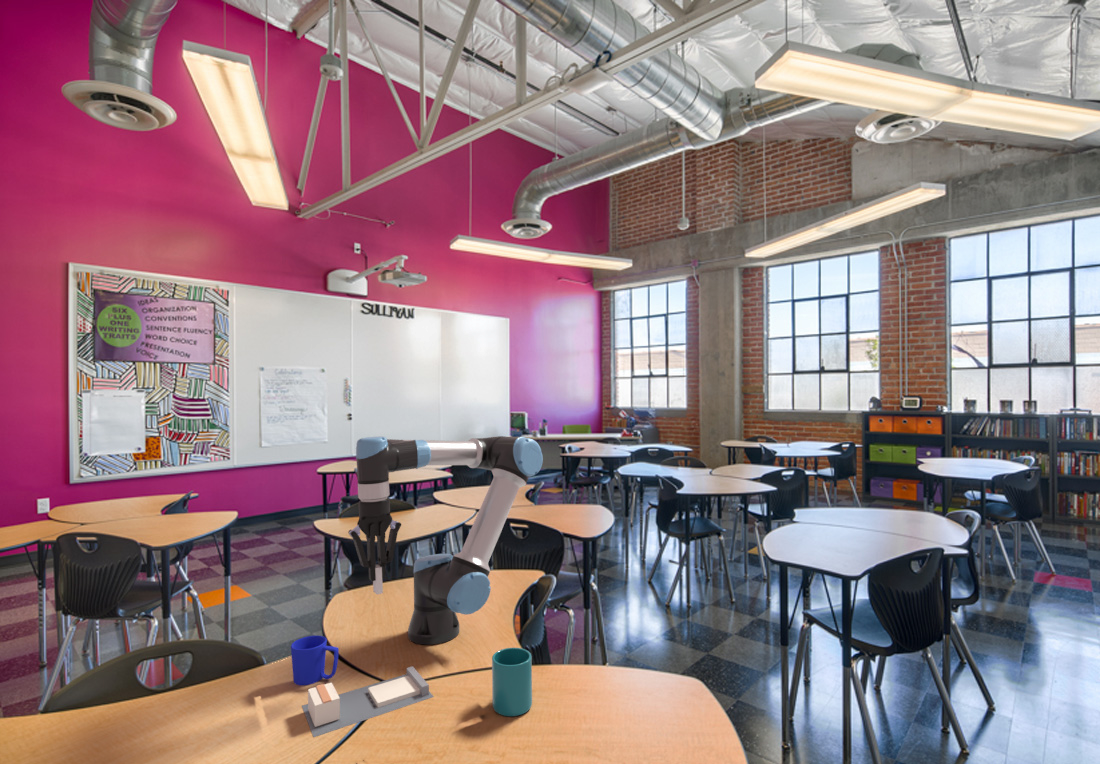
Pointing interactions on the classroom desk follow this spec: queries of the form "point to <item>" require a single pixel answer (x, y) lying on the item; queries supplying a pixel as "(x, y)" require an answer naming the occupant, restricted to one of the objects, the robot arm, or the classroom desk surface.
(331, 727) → the clipboard
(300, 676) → the mug
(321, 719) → the white box
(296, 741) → the classroom desk surface
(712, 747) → the classroom desk surface
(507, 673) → the cup
